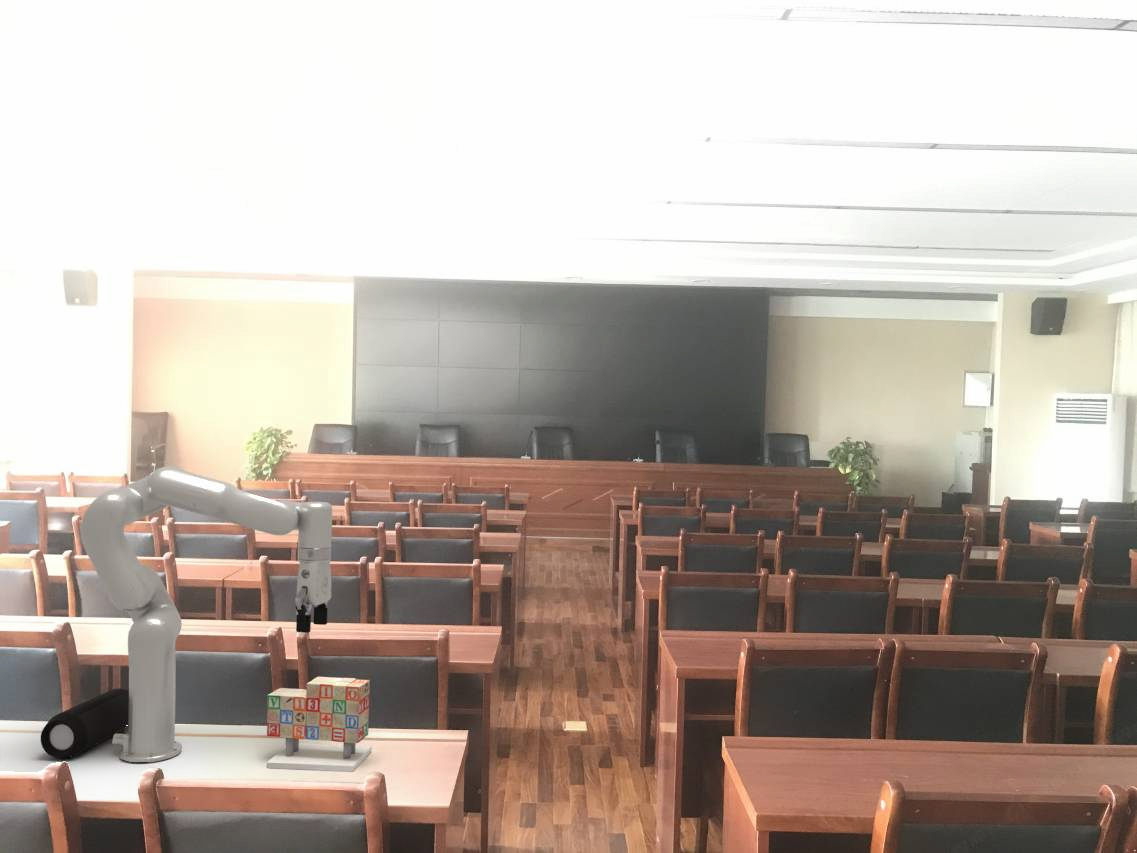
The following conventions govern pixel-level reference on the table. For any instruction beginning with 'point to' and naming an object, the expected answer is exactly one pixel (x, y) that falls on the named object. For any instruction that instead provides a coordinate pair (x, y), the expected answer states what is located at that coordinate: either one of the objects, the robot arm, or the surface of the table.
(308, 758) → the peg board
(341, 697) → the stack of blocks
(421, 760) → the table surface
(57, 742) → the portable speaker
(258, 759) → the table surface
